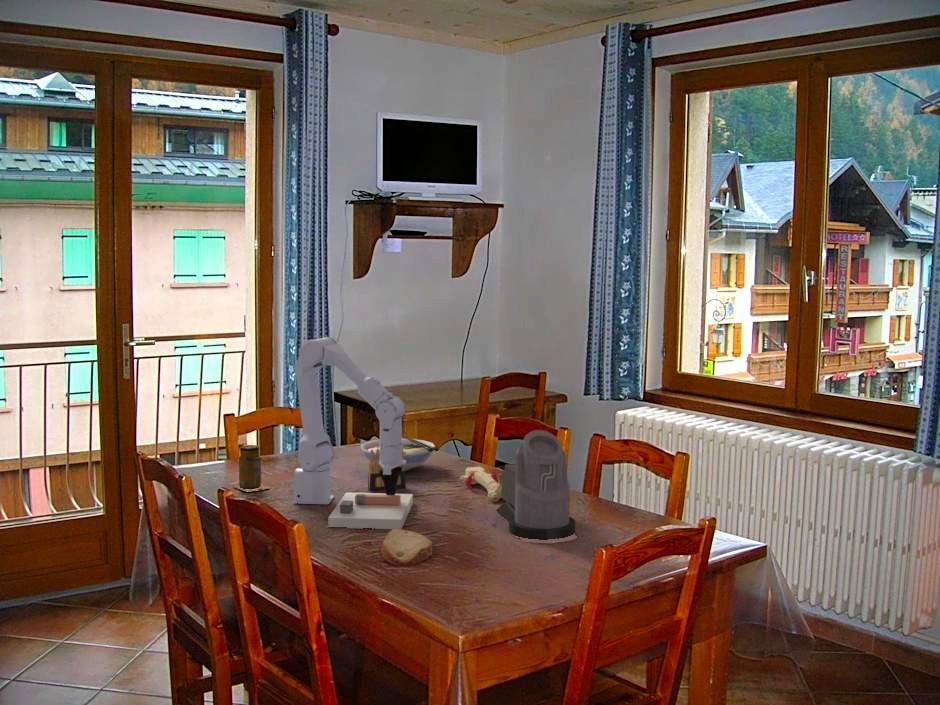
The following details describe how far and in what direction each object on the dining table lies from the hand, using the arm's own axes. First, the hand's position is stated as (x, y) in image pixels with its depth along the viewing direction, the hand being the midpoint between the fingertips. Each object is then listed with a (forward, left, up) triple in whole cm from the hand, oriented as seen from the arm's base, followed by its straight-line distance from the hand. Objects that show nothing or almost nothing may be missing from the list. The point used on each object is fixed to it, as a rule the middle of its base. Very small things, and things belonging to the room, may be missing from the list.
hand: (390, 495), depth 262 cm
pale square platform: (-4, -5, -4) cm, 8 cm away
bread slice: (+7, -33, -4) cm, 34 cm away
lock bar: (-3, -4, -1) cm, 5 cm away
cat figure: (+24, +21, -4) cm, 32 cm away
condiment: (-42, +18, -4) cm, 46 cm away
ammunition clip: (-4, +21, -4) cm, 22 cm away
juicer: (+37, -11, -4) cm, 39 cm away
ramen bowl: (-4, +45, -4) cm, 45 cm away
